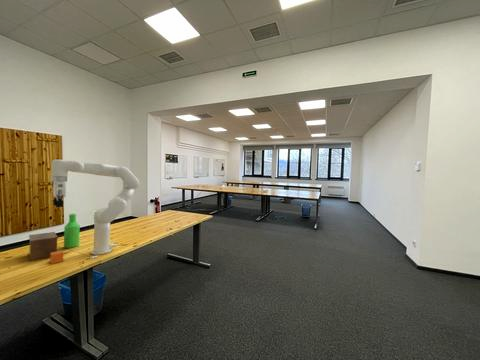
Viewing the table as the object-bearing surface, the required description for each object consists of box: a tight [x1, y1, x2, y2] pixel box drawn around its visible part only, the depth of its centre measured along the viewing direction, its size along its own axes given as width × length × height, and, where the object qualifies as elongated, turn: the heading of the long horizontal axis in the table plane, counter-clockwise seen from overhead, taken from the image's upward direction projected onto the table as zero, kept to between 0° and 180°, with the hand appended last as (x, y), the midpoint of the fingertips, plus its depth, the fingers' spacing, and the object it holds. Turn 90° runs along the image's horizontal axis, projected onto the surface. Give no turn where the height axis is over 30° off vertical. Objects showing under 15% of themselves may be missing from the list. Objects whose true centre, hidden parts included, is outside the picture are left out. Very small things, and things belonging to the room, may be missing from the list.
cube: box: [49, 250, 64, 264], centre depth 124 cm, size 5×5×5 cm
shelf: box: [28, 231, 59, 262], centre depth 132 cm, size 13×16×13 cm
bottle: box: [63, 213, 81, 249], centre depth 149 cm, size 9×9×25 cm
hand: (58, 206), depth 123 cm, fingers open, 9 cm apart
